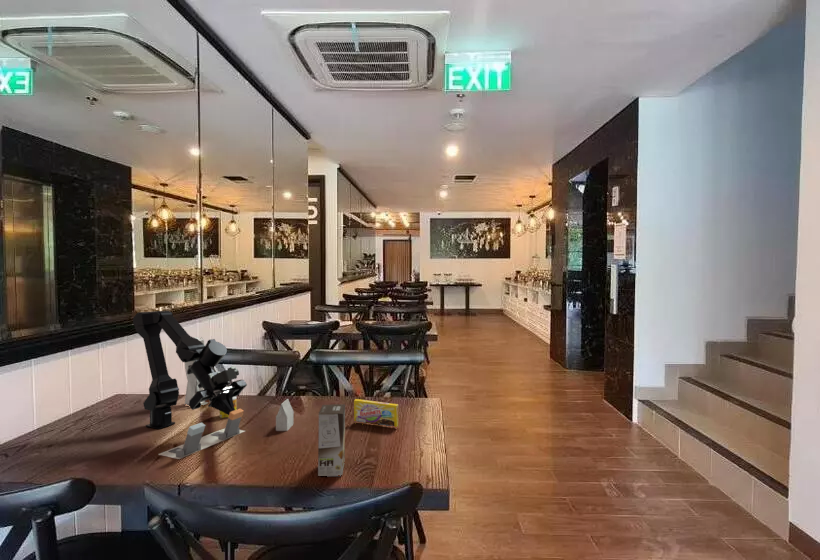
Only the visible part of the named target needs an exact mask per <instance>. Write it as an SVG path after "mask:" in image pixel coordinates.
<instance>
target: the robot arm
mask: <svg viewBox="0 0 820 560" xmlns="http://www.w3.org/2000/svg"><path fill="white" fill-rule="evenodd" d="M132 323H133V326H134V329H135V332H136V334H138V335H139V336H140V337H141V338H142V339H143V342H144V346H145V353H146V356H147V357H146V358H147V362H148V365H149V366H148V367H149V371H150V375H151V376H150V377H151V382H150V385H149V387H148V393H149V394H148V396H147V397H146V399H144V402H143V407H144V408H143V409H144V410H148V411H149V423H148V424H145V427H147V428H150V427H151V429H157V430H159V429H164V428H166V427H169V426H172V425H175V424H176V422H175V421H172V420H173V419H172V416H173V415H172V414H173V413H172V407H174V406H177V403H178V400H179V395H180V388H179V386H178V380H177V379H176V378H172V377H171V376H170V375H169V371H168V366H167V361H166V357H165V353H164V349H163V345H162V340H161V333H162V331H164V333H165V334H166V335H167V336H168V339H170V340H171V341H172V342H173V344H174V346H175V354H177V356H178V358H179V360H180V361H181V362H182V363H185V362H191V361H194V362H193V364H192V365H189V366H188V371H187V374H192V373H193V374H194V375H195V377H196V378H197V380H198V381H199V383H200V384H199V385H198V387H199V388H202V387H203V390H201V391H197V392H196V394H195V395H194V396H193V397H192V398H191V399H190V401H189V406H190V407H189V408H190V409H191V410H192V411H193V410H197V409H200V408H201V407H202V406H201V403H200V402H202V401H205V402H207V401H209V402H208V405H207V406H208V408H213V409H214V410H215V409H216V410H217V411H219V412H220V411H222V412H224V413H226V414H228V415H229V414H230V412H232V411H234V410H235V409H234V404H233V398H232V397H235V396H236V397H238V396H239V395H240V394H241V392H243V390H244V389H245V388H246V387H247V386H248V384H247V383H246V381H245V380H244V379H238V376H239V375H240V372H239V369H238V368H237V367H236V365H233V366H231V367H228V368H227V369H226V370H223V371H216V369H215V368H214V367H217V365H219V364H220V362H221V360H222V359H223V358H224V356H225V355H226V354H227V352H228V349H227V346H226V345H225V344H223V343H221V342H220V341H216V339H215V338H212V339H208V340H207V342H206V344H205V345H204V344H203V343H202V342H201V341H199V340H198V339H196V338H197V337H193V336H191V335H190V334H189V333H188V332H187V330H185V329H184V327H183V326H182V325H181V324H180V323H179V321H178V320H177V319H176V318H175V317H174V315H173V312H172V311H169V310H158V311H157V310H155V311H154V310H153V311H141V312H140V311H139V312H137V313H135V315H134V316H133V318H132ZM236 379H238V380H236ZM232 380H235V381H232ZM230 381H232V382H231V384H230ZM229 384H230V385H229ZM228 385H229V386H228Z"/></svg>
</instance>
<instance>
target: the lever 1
mask: <svg viewBox="0 0 820 560" xmlns="http://www.w3.org/2000/svg"><path fill="white" fill-rule="evenodd" d="M206 426H207V425H206V424H204V423H203V422H202V421H201V422H200V423H196V424H193V425H190V426H188V429H187V433H186V437H185V440H184V442H183V444H184V446H183V449H182V450H184V455H188V454H190V453H192V452H195V451H197V449H198V446H199V443H200V440H201V437H203V434H204V431H205V428H206ZM197 452H198V451H197ZM195 453H196V452H195ZM190 455H191V454H190ZM188 456H189V455H188Z"/></svg>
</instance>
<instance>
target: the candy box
mask: <svg viewBox="0 0 820 560" xmlns="http://www.w3.org/2000/svg"><path fill="white" fill-rule="evenodd" d="M353 418H354V421H357V422H364V423H371V424H378V425H386V426H395V427H397V426H398V427H399V404H398V403H390V402H383V401H377V400H376V401H374V400H367V399H359V398H356V399H354V400H353ZM354 421H353V422H354Z"/></svg>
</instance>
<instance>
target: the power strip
mask: <svg viewBox="0 0 820 560" xmlns="http://www.w3.org/2000/svg"><path fill="white" fill-rule="evenodd" d="M225 428H226V427H225ZM225 428H222V429H219V430H216V431H214V432H211V433H209V434H206V435H202V437H201V440H200V443H199V446H198V449H197V451H195V452H192V453H190V454H188V455H184V450H182V449H183V446H184V443H183V444H180V445H178V446H176V447H172V448H171V449H168V450H166V451H162V452H161V453H158V456H164V457H168V458H172V459H177V460H180V459H183V458H185V457H188V456H190V455H192V454H195V453H197V452H199V451H202V450H205V449H207V448H209V447H211V446H214V445H216V444H218V443H220V442H223V441H226V440H228V439H230V438H233V437H236V436H238V435H240V434H242V433H245V432H246V430H242V429H240V427H238V430H237V433H236V434H235V435H233V436H230V437H228V438H226V433H224V431H225Z"/></svg>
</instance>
